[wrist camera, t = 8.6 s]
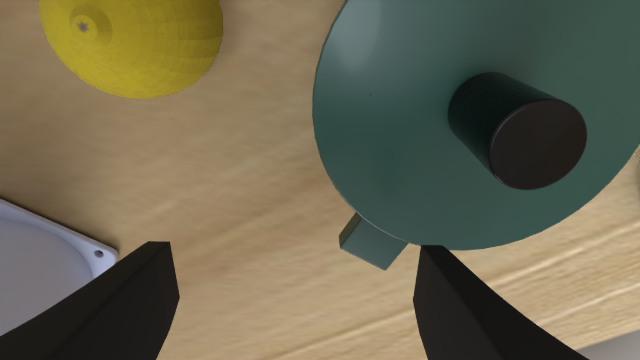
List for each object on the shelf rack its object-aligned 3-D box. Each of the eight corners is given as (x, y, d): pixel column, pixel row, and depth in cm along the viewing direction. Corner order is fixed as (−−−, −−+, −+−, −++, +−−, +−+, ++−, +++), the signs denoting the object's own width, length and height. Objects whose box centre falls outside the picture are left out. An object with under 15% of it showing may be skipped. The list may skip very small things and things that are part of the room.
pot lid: (261, 163, 15) (237, 229, 11) (431, -179, 10) (502, -291, 6) (498, 273, 17) (555, 364, 13) (719, 28, 13) (912, 46, 8)
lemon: (253, -28, 17) (204, -43, 10) (223, 91, 19) (165, 149, 12) (126, -78, 16) (-28, -133, 9) (110, 52, 19) (-23, 89, 11)
